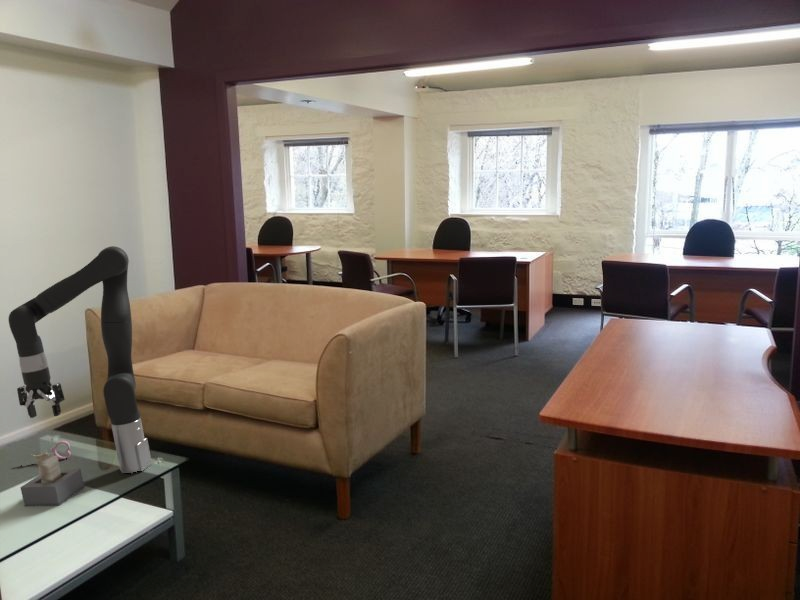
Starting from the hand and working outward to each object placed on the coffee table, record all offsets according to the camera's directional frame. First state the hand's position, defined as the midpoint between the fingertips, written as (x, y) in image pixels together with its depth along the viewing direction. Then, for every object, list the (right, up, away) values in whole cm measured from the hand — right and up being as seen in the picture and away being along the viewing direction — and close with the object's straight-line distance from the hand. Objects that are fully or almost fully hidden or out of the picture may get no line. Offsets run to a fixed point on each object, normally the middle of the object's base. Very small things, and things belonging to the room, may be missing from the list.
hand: (45, 416), depth 205 cm
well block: (+5, -25, -4) cm, 25 cm away
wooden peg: (+5, -24, -4) cm, 25 cm away
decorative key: (-15, -22, +26) cm, 38 cm away
